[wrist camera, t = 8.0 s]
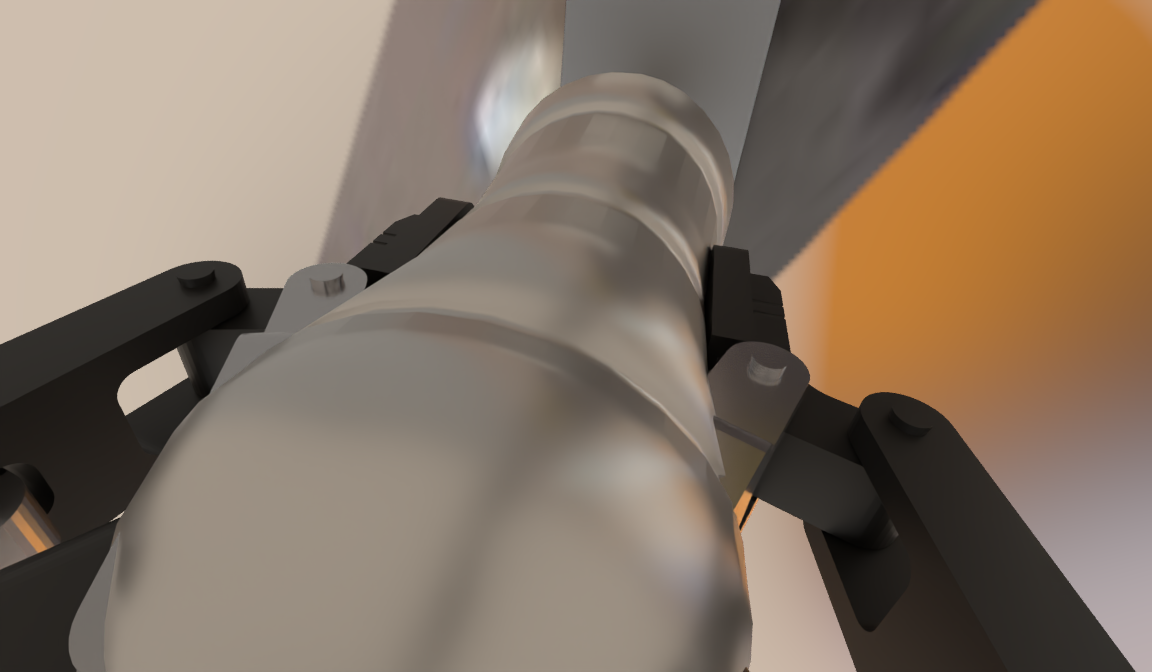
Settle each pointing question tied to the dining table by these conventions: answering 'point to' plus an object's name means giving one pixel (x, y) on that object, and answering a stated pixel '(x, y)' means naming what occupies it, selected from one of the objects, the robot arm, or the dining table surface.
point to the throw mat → (678, 51)
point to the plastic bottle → (474, 440)
